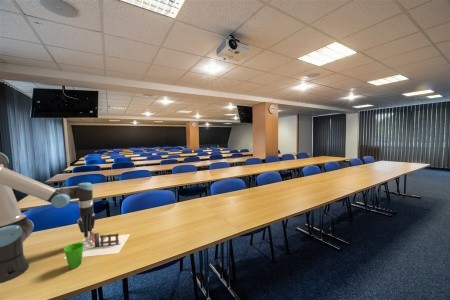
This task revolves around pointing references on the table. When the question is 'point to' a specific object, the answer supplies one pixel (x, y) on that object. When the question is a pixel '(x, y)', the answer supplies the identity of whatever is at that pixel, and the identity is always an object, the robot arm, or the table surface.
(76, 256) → the cup
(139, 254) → the table surface
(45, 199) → the robot arm
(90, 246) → the card
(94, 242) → the fence swing
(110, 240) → the fence fixed
